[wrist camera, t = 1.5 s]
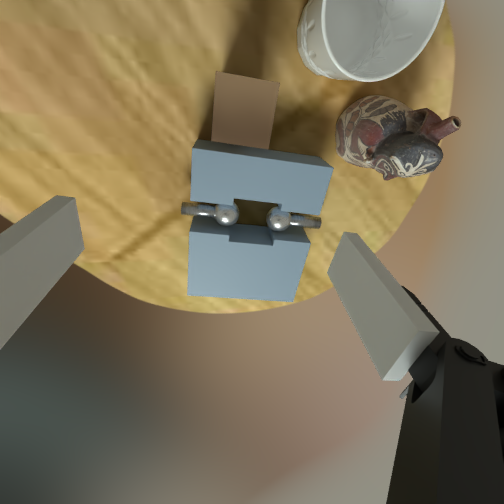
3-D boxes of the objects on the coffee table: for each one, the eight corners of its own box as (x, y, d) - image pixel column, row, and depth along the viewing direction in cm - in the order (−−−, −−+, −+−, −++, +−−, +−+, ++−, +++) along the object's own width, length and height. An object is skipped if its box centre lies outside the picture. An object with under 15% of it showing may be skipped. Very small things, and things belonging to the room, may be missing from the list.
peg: (220, 77, 26) (215, 71, 16) (260, 84, 27) (280, 82, 17) (217, 121, 28) (211, 141, 18) (254, 127, 29) (268, 149, 19)
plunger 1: (184, 190, 30) (180, 200, 28) (240, 197, 31) (241, 207, 29) (183, 215, 32) (180, 226, 29) (237, 220, 33) (238, 231, 30)
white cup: (274, 51, 26) (296, 33, 17) (325, -49, 22) (386, -133, 14) (335, 99, 28) (382, 105, 20) (390, 16, 25) (474, -21, 16)
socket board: (197, 139, 29) (192, 147, 25) (319, 156, 31) (333, 168, 27) (191, 272, 38) (187, 295, 34) (286, 279, 40) (292, 301, 36)
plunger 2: (267, 200, 32) (270, 210, 29) (318, 206, 33) (326, 216, 30) (262, 223, 33) (265, 234, 31) (312, 228, 34) (319, 239, 32)
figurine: (320, 142, 30) (367, 170, 20) (365, 79, 27) (446, 75, 17) (364, 175, 33) (425, 215, 22) (409, 121, 30) (503, 138, 20)
